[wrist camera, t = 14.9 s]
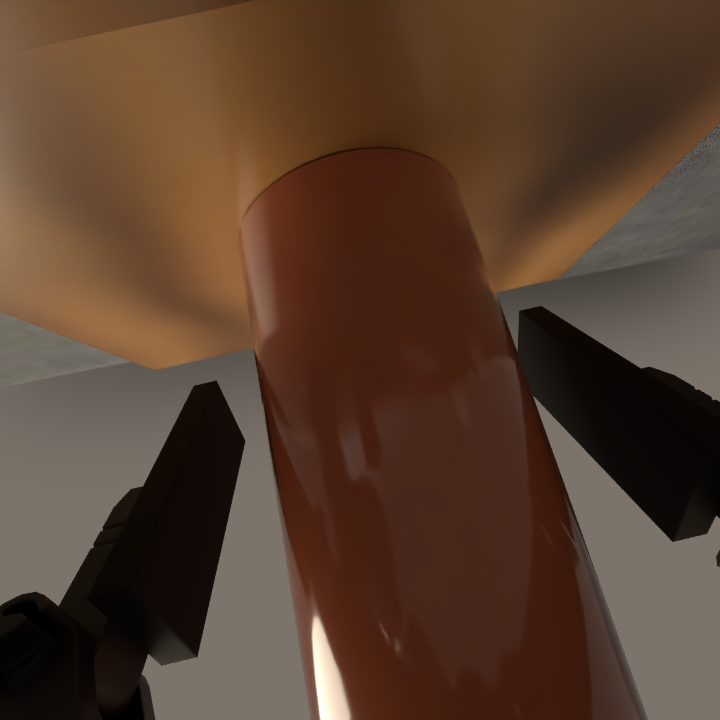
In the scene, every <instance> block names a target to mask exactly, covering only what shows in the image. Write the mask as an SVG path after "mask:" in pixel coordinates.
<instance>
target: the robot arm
mask: <svg viewBox="0 0 720 720" xmlns="http://www.w3.org/2000/svg"><path fill="white" fill-rule="evenodd" d="M518 356H519V358H520V361H521V364H522V367H523V370H524V372H525V375H526V378H527V381H528V384H529V386H530V389H531V392H532V395H533V396H534V397H535V398H536V399H537V400H538V401H539V402H540V403H541V404H542V405H543V406H544V407H545V408H546V409H547V411H548V412H549V413H550V414H552V416H553V417H554V418H555V419H556V420H557V421H558V422H559V423H560V424H561V425H562V426H563V427H564V428H565V429H566V430H567V432H568V433H569V434H570V435H571V436H572V437H573V438H574V439H575V440H576V441H577V442H578V443H579V444H580V445H581V446H582V447H583V448H584V449H585V450H586V451H587V452H588V454H590V456H591V457H592V458H593V459H594V460H595V461H596V462H597V463H598V464H599V465H600V466H601V467H602V468H603V469H604V470H605V471H606V472H607V473H608V474H609V476H611V478H612V479H613V480H614V481H615V482H616V483H617V484H618V485H619V486H620V487H621V488H622V489H623V490H624V491H625V492H626V493H627V494H628V495H629V496H630V498H631V499H632V500H633V501H634V502H635V503H636V504H637V505H638V506H639V507H640V508H641V509H642V510H643V511H644V512H645V513H646V514H647V515H648V516H649V517H650V518H651V520H652V521H653V522H654V523H655V524H656V525H657V526H658V527H659V528H660V529H661V530H662V531H663V532H664V533H665V534H666V535H667V536H668V537H669V538H670V540H671V541H672V542H674V541H679V540H683V539H687V538H691V537H695V536H699V535H704V534H707V533H708V530H709V529H710V527H711V525H712V523H713V521H714V519H715V517H716V515H717V516H718V517H719V518H720V402H719V401H717V400H712V397H710V396H709V395H707V394H705V393H704V392H702V391H700V390H695V387H694V386H692V385H690V384H689V383H687V382H685V381H683V380H682V379H680V378H678V377H677V376H675V375H672V374H669V373H666V372H663V371H661V370H658V369H655V368H652V367H646V368H642V369H641V368H639V367H637V366H636V365H634V364H633V363H631V362H630V361H628V360H626V359H625V358H623V357H622V356H620V355H619V354H617V353H615V352H614V351H612V350H611V349H609V348H607V347H606V346H604V345H603V344H601V343H599V342H598V341H596V340H595V339H593V338H592V337H590V336H588V335H587V334H585V333H584V332H582V331H580V330H579V329H577V328H576V327H574V326H572V325H571V324H569V323H568V322H566V321H564V320H563V319H561V318H560V317H558V316H557V315H555V314H553V313H551V312H550V311H549V310H547V309H545V308H544V307H542V306H539V307H534V308H530V309H526V310H522V311H519V330H518ZM244 445H245V439H244V437H243V435H242V433H241V431H240V429H239V427H238V425H237V423H236V421H235V418H234V416H233V414H232V412H231V410H230V408H229V406H228V404H227V402H226V400H225V397H224V396H223V393H222V391H221V389H220V387H219V385H218V383H217V381H213V382H208V383H204V384H200V385H195V386H194V387H193V389H192V391H191V393H190V394H189V396H188V399H187V401H186V402H185V404H184V406H183V409H182V410H181V412H180V414H179V416H178V419H177V420H176V422H175V424H174V426H173V428H172V430H171V432H170V434H169V436H168V438H167V440H166V442H165V444H164V446H163V448H162V450H161V452H160V454H159V456H158V458H157V460H156V462H155V464H154V466H153V468H152V470H151V472H150V474H149V476H148V478H147V480H146V482H145V484H144V486H143V487H138V488H134V489H131V490H130V491H129V492H128V493H127V494H126V495H125V496H124V497H123V498H122V500H120V501H119V503H118V504H117V505H116V506H115V507H114V508H113V510H112V512H111V513H110V515H109V517H108V519H107V521H106V522H105V524H104V526H103V531H101V532H100V533H99V535H98V537H97V538H96V540H95V542H94V544H93V545H94V548H92V549H90V551H89V553H88V555H87V556H86V558H85V560H84V562H83V564H82V565H81V567H80V569H79V571H78V572H77V574H76V576H75V578H74V580H73V581H72V583H71V585H70V587H69V589H68V590H67V592H66V594H65V596H64V598H63V599H62V601H61V603H60V605H59V606H57V605H56V604H55V603H54V602H52V601H51V600H50V599H49V598H47V597H46V596H45V595H43V594H40V593H37V592H32V593H27V594H22V595H20V596H17V597H15V598H13V599H11V600H9V601H7V602H5V603H4V604H2V605H1V606H0V720H155V715H154V710H153V705H152V699H151V694H150V688H149V685H148V682H147V680H146V678H145V677H144V676H143V675H142V671H143V668H144V665H145V662H146V659H147V656H148V654H149V655H150V656H151V657H152V658H154V659H155V660H156V661H157V662H158V663H159V664H160V665H166V664H170V663H174V662H179V661H182V660H187V659H191V658H194V657H197V656H198V652H199V647H200V643H201V638H202V634H203V629H204V624H205V620H206V616H207V611H208V607H209V602H210V598H211V593H212V589H213V584H214V580H215V575H216V571H217V566H218V562H219V557H220V553H221V548H222V544H223V539H224V535H225V531H226V526H227V522H228V517H229V513H230V508H231V504H232V499H233V495H234V490H235V486H236V481H237V477H238V472H239V468H240V463H241V459H242V454H243V450H244ZM716 558H717V566H719V567H720V550H719V553H718V554H717V556H716Z"/></svg>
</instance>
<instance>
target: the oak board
mask: <svg viewBox="0 0 720 720" xmlns="http://www.w3.org/2000/svg"><path fill="white" fill-rule="evenodd" d="M719 123H720V0H0V312H3V313H5V314H8V315H10V316H13V317H16V318H18V319H21V320H24V321H26V322H29V323H32V324H34V325H37V326H40V327H42V328H45V329H47V330H50V331H53V332H55V333H58V334H61V335H63V336H66V337H69V338H71V339H74V340H77V341H79V342H82V343H84V344H87V345H90V346H92V347H95V348H98V349H100V350H103V351H106V352H108V353H111V354H114V355H116V356H119V357H121V358H124V359H127V360H129V361H132V362H135V363H138V364H140V365H143V366H145V367H148V368H151V369H153V370H157V369H162V368H166V367H171V366H175V365H180V364H184V363H188V362H193V361H197V360H201V359H206V358H210V357H215V356H219V355H223V354H227V353H232V352H237V351H241V350H245V349H250V348H254V347H253V340H252V334H251V327H250V321H249V314H248V308H247V301H246V295H245V288H244V282H243V275H242V269H241V262H240V256H239V249H238V236H239V230H240V227H241V224H242V222H243V219H244V217H245V215H246V213H247V212H248V210H249V208H250V207H251V205H252V204H253V203H254V202H255V200H256V199H257V198H258V197H259V196H260V195H261V194H262V193H263V192H264V191H265V190H266V189H267V188H268V187H270V186H271V185H272V184H273V183H274V182H276V181H277V180H279V179H280V178H282V177H283V176H285V175H286V174H288V173H289V172H291V171H293V170H295V169H297V168H299V167H301V166H303V165H305V164H307V163H310V162H312V161H315V160H317V159H320V158H322V157H326V156H330V155H333V154H337V153H340V152H345V151H351V150H358V149H368V148H390V149H400V150H405V151H410V152H415V153H418V154H420V155H423V156H426V157H428V158H430V159H432V160H434V161H435V162H437V163H439V164H440V165H441V166H443V167H444V168H445V169H446V170H447V171H448V172H449V173H450V174H451V175H452V177H453V178H454V179H455V181H456V183H457V185H458V188H459V190H460V193H461V195H462V198H463V201H464V204H465V207H466V210H467V212H468V215H469V218H470V221H471V224H472V226H473V229H474V232H475V235H476V238H477V240H478V243H479V246H480V249H481V252H482V254H483V257H484V260H485V263H486V266H487V269H488V271H489V274H490V277H491V280H492V283H493V285H494V288H495V291H496V292H500V291H504V290H509V289H513V288H517V287H522V286H526V285H531V284H535V283H539V282H544V281H548V280H552V279H557V278H559V277H560V276H561V275H562V274H563V273H564V272H566V271H567V270H568V269H569V268H570V267H571V266H572V265H573V264H574V263H575V262H576V261H577V260H578V259H579V258H580V257H581V256H582V255H583V254H584V253H585V252H586V251H587V250H588V249H589V248H590V247H591V246H593V245H594V244H595V243H596V242H597V241H598V240H599V239H600V238H601V237H602V236H603V235H604V234H605V233H606V232H607V231H608V230H609V229H610V228H611V227H612V226H613V225H614V224H615V223H616V222H617V221H619V220H620V219H621V218H622V217H623V216H624V215H625V214H626V213H627V212H628V211H629V210H630V209H631V208H632V207H633V206H634V205H635V204H636V203H637V202H638V201H639V200H640V199H641V198H642V197H643V196H645V195H646V194H647V193H648V192H649V191H650V190H651V189H652V188H653V187H654V186H655V185H656V184H657V183H658V182H659V181H660V180H661V179H662V178H663V177H664V176H665V175H666V174H667V173H668V172H669V171H671V170H672V169H673V168H674V167H675V166H676V165H677V164H678V163H679V162H680V161H681V160H682V159H683V158H684V157H685V156H686V155H687V154H688V153H689V152H690V151H691V150H692V149H693V148H694V147H695V146H696V145H698V144H699V143H700V142H701V141H702V140H703V139H704V138H705V137H706V136H707V135H708V134H709V133H710V132H711V131H712V130H713V129H714V128H715V127H716V126H717V125H718V124H719Z"/></svg>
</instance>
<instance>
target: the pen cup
mask: <svg viewBox="0 0 720 720" xmlns="http://www.w3.org/2000/svg"><path fill="white" fill-rule="evenodd" d="M238 249H239V256H240V262H241V269H242V275H243V282H244V288H245V295H246V301H247V308H248V314H249V321H250V327H251V334H252V340H253V347H254V353H255V360H256V366H257V373H258V379H259V386H260V392H261V399H262V405H263V412H264V418H265V424H266V431H267V438H268V444H269V451H270V457H271V464H272V471H273V477H274V484H275V490H276V497H277V503H278V510H279V516H280V523H281V529H282V536H283V542H284V549H285V555H286V562H287V568H288V575H289V581H290V588H291V594H292V601H293V607H294V614H295V619H296V627H297V633H298V640H299V646H300V653H301V659H302V666H303V672H304V678H305V685H306V692H307V698H308V705H309V711H310V717H311V720H648V718H647V715H646V712H645V710H644V707H643V704H642V701H641V698H640V695H639V693H638V690H637V687H636V684H635V681H634V679H633V676H632V673H631V670H630V667H629V665H628V662H627V659H626V656H625V653H624V651H623V648H622V645H621V642H620V639H619V636H618V634H617V631H616V628H615V625H614V622H613V620H612V617H611V614H610V611H609V608H608V606H607V603H606V600H605V597H604V594H603V591H602V589H601V586H600V583H599V580H598V577H597V575H596V572H595V569H594V566H593V563H592V561H591V558H590V555H589V552H588V549H587V547H586V544H585V541H584V538H583V535H582V533H581V530H580V527H579V524H578V521H577V519H576V516H575V513H574V510H573V507H572V504H571V502H570V499H569V496H568V493H567V490H566V488H565V485H564V482H563V479H562V476H561V474H560V471H559V468H558V465H557V462H556V459H555V457H554V454H553V451H552V448H551V446H550V443H549V440H548V437H547V435H546V432H545V429H544V426H543V423H542V420H541V417H540V415H539V412H538V409H537V406H536V403H535V401H534V398H533V395H532V392H531V389H530V386H529V384H528V381H527V378H526V375H525V372H524V370H523V367H522V364H521V361H520V358H519V356H518V353H517V350H516V347H515V344H514V342H513V339H512V336H511V333H510V330H509V328H508V325H507V322H506V319H505V316H504V314H503V311H502V308H501V306H500V302H499V299H498V297H497V294H496V291H495V288H494V285H493V283H492V280H491V277H490V274H489V271H488V269H487V266H486V263H485V260H484V257H483V254H482V252H481V249H480V246H479V243H478V240H477V238H476V235H475V232H474V229H473V226H472V224H471V221H470V218H469V215H468V212H467V210H466V207H465V204H464V201H463V198H462V195H461V193H460V190H459V188H458V185H457V183H456V181H455V179H454V178H453V177H452V175H451V174H450V173H449V172H448V171H447V170H446V169H445V168H444V167H443V166H441V165H440V164H439V163H437V162H435V161H434V160H432V159H430V158H428V157H426V156H423V155H420V154H418V153H415V152H410V151H405V150H400V149H390V148H368V149H358V150H351V151H345V152H340V153H337V154H333V155H330V156H326V157H322V158H320V159H317V160H315V161H312V162H310V163H307V164H305V165H303V166H301V167H299V168H297V169H295V170H293V171H291V172H289V173H288V174H286V175H285V176H283V177H282V178H280V179H279V180H277V181H276V182H274V183H273V184H272V185H271V186H270V187H268V188H267V189H266V190H265V191H264V192H263V193H262V194H261V195H260V196H259V197H258V198H257V199H256V200H255V202H254V203H253V204H252V205H251V207H250V208H249V210H248V212H247V213H246V215H245V217H244V219H243V222H242V224H241V227H240V230H239V236H238Z"/></svg>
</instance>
